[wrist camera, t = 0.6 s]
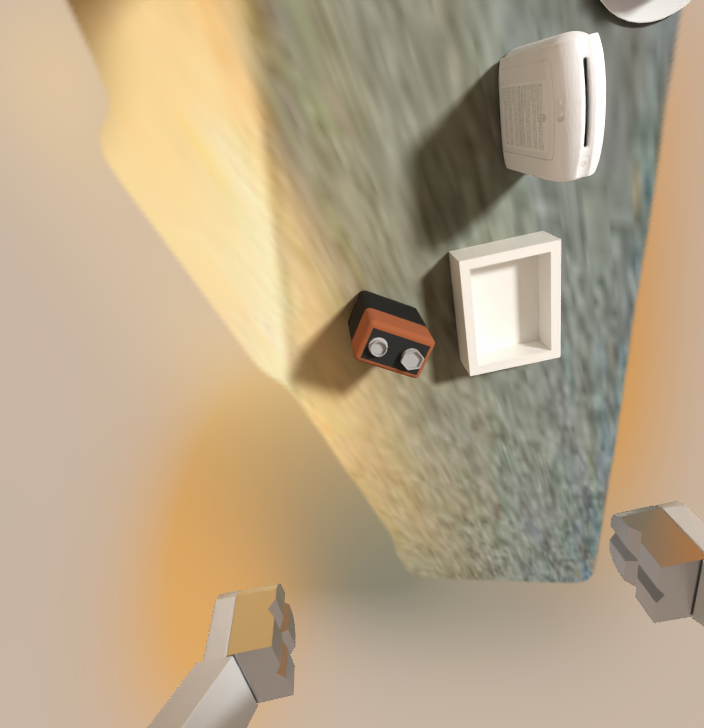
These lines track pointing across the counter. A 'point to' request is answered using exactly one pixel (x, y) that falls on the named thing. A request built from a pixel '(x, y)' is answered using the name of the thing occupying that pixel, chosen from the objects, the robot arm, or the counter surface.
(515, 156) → the photo printer
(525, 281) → the trough
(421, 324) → the battery
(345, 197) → the counter surface
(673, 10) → the pudding
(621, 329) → the counter surface
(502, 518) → the counter surface
